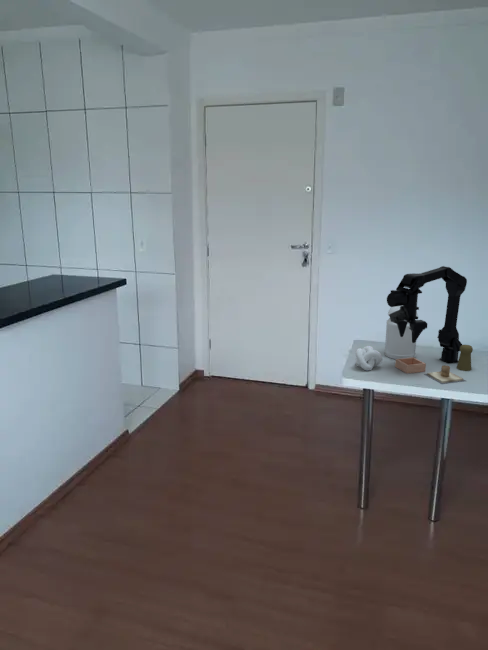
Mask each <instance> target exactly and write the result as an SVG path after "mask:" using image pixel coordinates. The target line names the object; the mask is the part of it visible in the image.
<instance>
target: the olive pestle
mask: <svg viewBox="0 0 488 650" xmlns="http://www.w3.org/2000/svg"><path fill="white" fill-rule="evenodd" d="M473 351H474V349H473V347H472V346H471V345H469V344H462V345H461V346H460V351H459V353H460V354H459V356H458V363H457V364H456V365H457V366H456V369H457V370H458V371H463V372H470V371H472V353H473Z"/></svg>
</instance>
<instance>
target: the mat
mask: <svg viewBox="0 0 488 650" xmlns="http://www.w3.org/2000/svg"><path fill="white" fill-rule="evenodd" d="M423 375H424V376H426V377H428V378H429V379H432V380H433V381H435V382H437V383H439V384H440V385H446V384H448V385H449V384H454V383H463V382H467V380H465V379H464V378H463V381H455V382H447V383H441V382H439V381H438V380H436V379H434V378H432V377H430V376H428V375H427V373H423Z"/></svg>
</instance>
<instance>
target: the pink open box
mask: <svg viewBox="0 0 488 650" xmlns="http://www.w3.org/2000/svg"><path fill="white" fill-rule="evenodd" d="M394 367H395V368H396V369H398V370H400V371H401V372H403V373H404V374H406V375H408V374H418V373H425V372H426V368H427V363H425V362H423V361H422V360H420V359H418V358H416V357H412V358H402V359H395V363H394Z"/></svg>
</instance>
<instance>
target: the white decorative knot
mask: <svg viewBox="0 0 488 650" xmlns="http://www.w3.org/2000/svg"><path fill="white" fill-rule="evenodd" d="M382 361H383V355H382V353H381V352H380V351H378V350H376V349H374V347H373V346H370V345H366V346H364V347H363V348H361V347H359V348H357V349H356V351H355V365H356V366H357V367H359V368H361V369H362V370H364V371H366V372H367V371H368V372H369V371H371V370H372V369H373V368H375V367H378V366H379V365H381V363H383V362H382Z"/></svg>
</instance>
